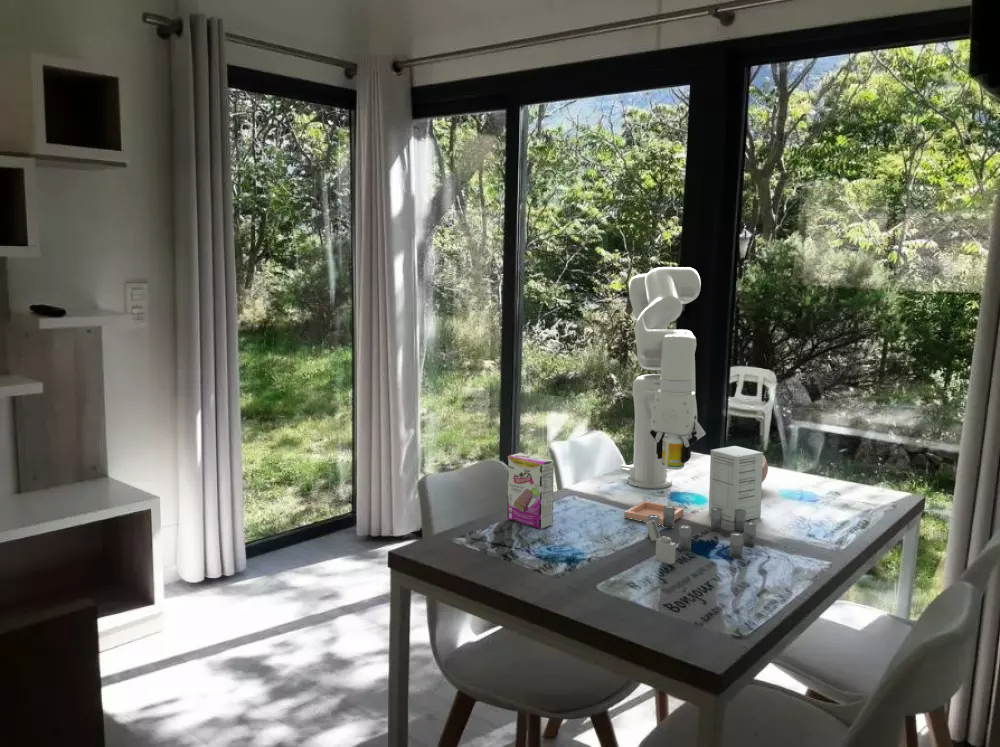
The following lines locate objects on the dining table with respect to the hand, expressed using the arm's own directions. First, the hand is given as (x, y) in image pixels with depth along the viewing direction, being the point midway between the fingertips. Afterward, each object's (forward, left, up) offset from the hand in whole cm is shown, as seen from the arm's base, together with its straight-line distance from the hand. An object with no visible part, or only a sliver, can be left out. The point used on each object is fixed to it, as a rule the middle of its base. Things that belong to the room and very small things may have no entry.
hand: (673, 458), depth 198 cm
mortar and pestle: (+4, +42, -17) cm, 46 cm away
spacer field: (+10, -4, -16) cm, 20 cm away
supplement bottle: (0, 0, -2) cm, 2 cm away
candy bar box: (-29, -19, -17) cm, 38 cm away
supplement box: (+10, +16, -17) cm, 26 cm away
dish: (-6, +3, -16) cm, 18 cm away
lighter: (+7, -23, -17) cm, 29 cm away
